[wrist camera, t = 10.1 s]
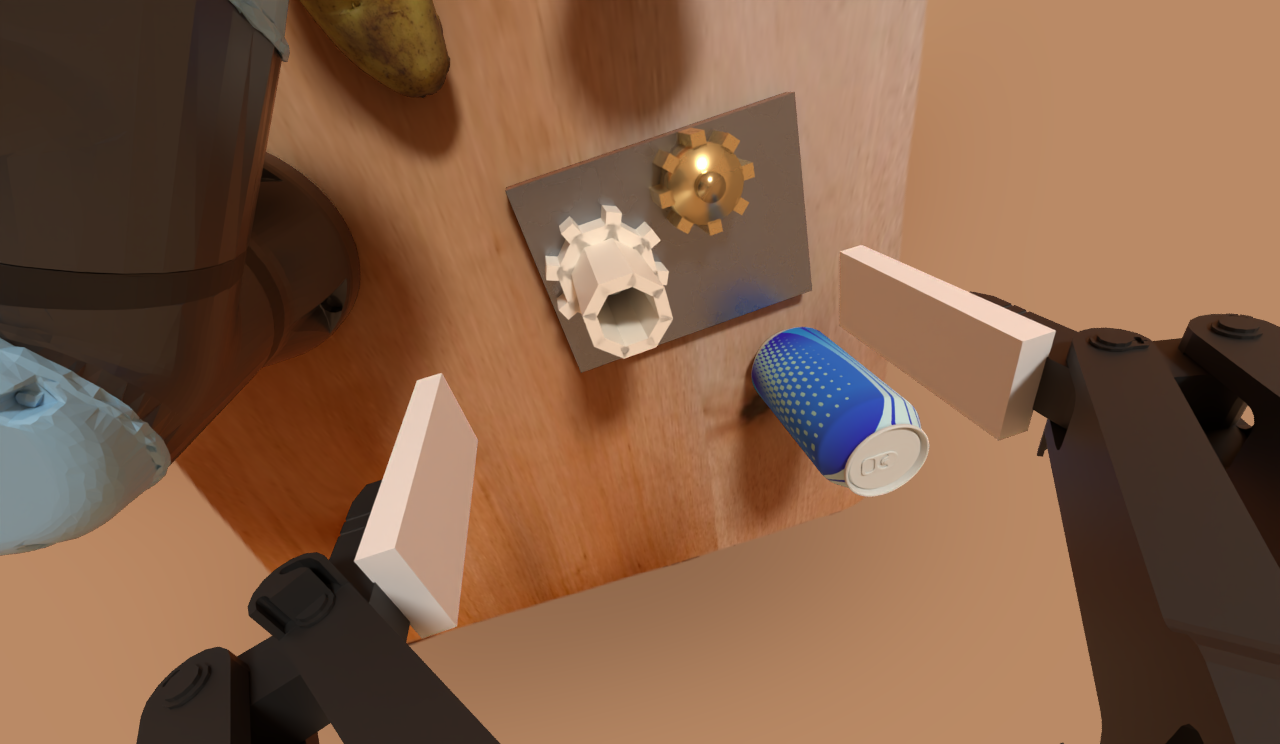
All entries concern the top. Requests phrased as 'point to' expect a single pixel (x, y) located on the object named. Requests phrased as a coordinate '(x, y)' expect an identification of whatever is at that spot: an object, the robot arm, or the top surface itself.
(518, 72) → the top surface
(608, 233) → the planet gear
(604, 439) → the top surface
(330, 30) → the potato
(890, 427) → the beer can
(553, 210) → the plate
